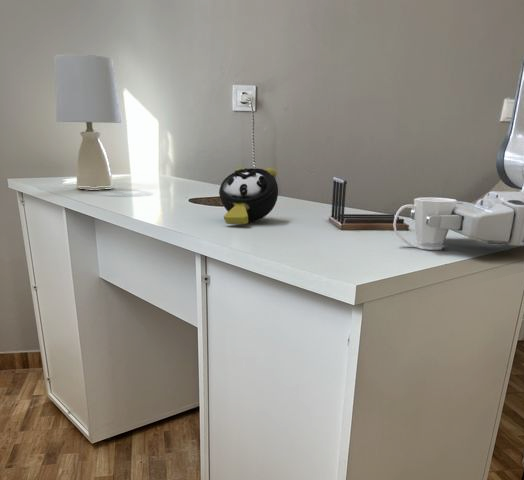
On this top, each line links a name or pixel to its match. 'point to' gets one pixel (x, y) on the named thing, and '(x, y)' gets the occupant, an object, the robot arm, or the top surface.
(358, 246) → the top surface
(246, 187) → the alarm clock
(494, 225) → the robot arm
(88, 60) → the lamp
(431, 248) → the cup
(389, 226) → the rack
